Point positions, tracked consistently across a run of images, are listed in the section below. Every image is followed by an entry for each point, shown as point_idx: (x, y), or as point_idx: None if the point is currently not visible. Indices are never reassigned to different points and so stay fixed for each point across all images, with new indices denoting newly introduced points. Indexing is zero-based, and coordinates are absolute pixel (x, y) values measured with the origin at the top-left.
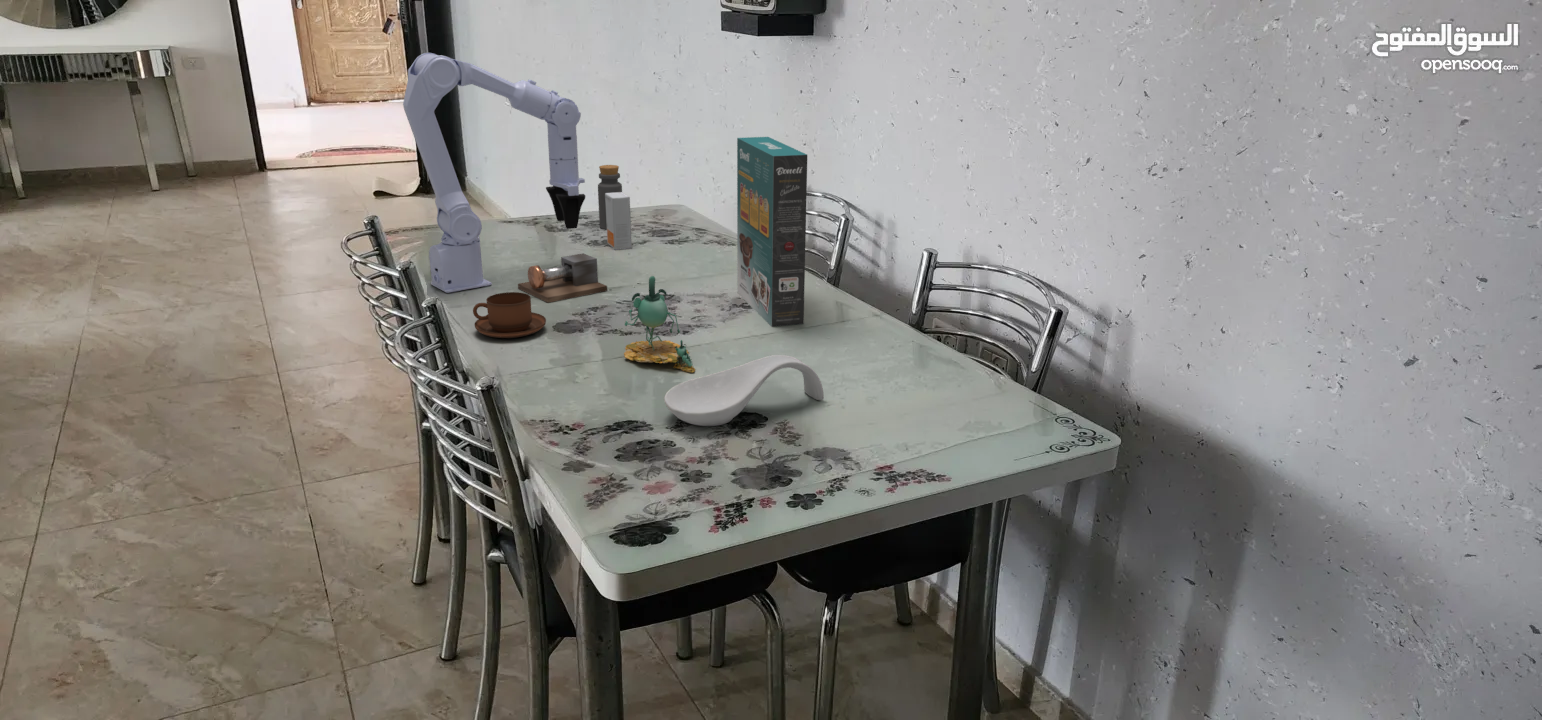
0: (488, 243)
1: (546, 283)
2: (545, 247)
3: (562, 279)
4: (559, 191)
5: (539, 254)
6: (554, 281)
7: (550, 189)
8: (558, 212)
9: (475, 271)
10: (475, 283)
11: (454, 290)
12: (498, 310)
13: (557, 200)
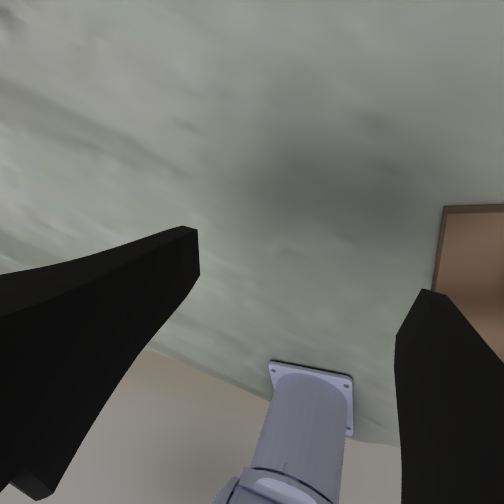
0: (40, 230)
1: (490, 338)
2: (66, 136)
3: (491, 287)
4: (32, 428)
5: (130, 181)
6: (490, 314)
7: (38, 487)
8: (171, 302)
9: (343, 428)
10: (346, 404)
11: (353, 427)
12: None
13: (108, 363)
